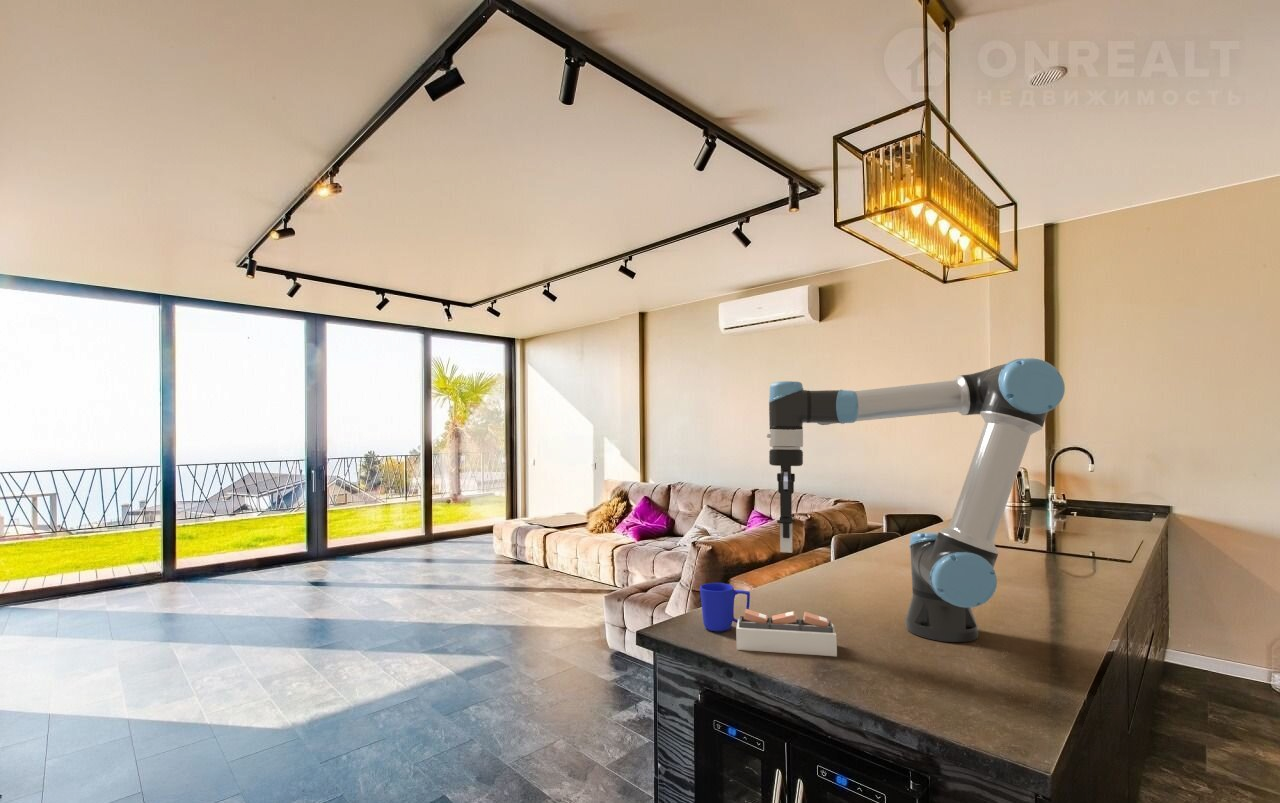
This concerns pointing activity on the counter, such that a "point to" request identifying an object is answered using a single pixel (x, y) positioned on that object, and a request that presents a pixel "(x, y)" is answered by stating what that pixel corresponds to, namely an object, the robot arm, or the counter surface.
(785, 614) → the block
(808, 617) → the orange rectangular block
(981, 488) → the robot arm
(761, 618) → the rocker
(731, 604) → the mug
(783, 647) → the white rack
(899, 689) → the counter surface
